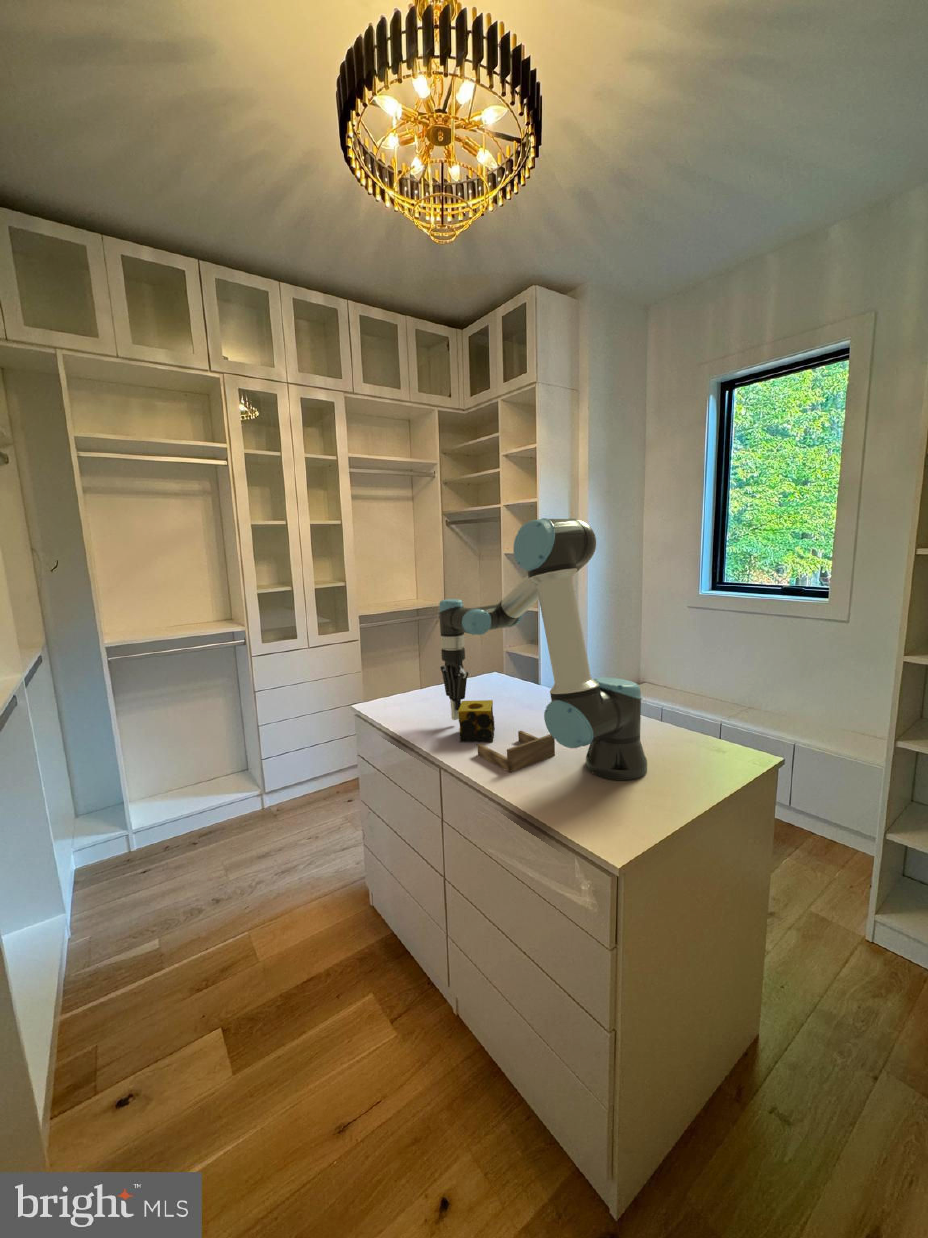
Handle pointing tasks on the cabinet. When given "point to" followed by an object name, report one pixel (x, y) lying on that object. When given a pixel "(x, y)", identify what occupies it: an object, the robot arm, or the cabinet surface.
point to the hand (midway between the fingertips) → (456, 718)
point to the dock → (521, 752)
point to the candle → (476, 721)
